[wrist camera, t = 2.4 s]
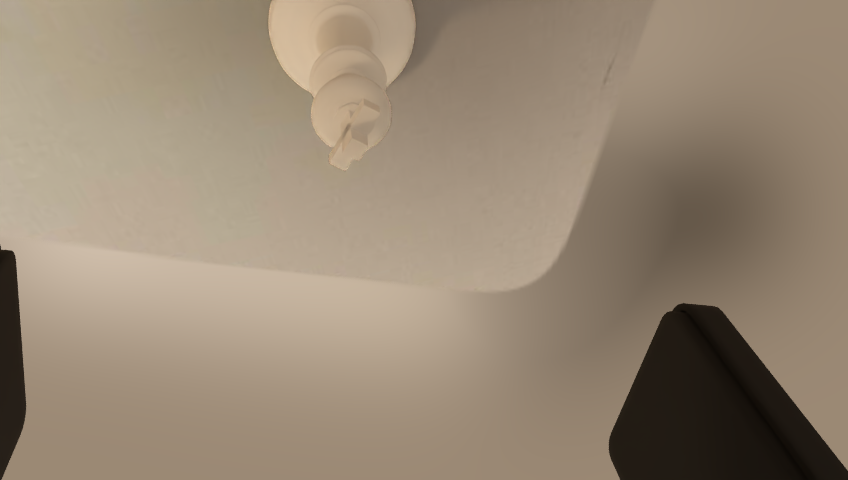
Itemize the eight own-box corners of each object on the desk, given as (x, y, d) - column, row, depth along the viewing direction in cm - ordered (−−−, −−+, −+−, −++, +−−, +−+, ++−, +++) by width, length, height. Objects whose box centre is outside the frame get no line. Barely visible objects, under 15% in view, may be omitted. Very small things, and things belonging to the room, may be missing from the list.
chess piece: (243, 53, 26) (207, 189, 17) (311, -81, 24) (308, -2, 15) (370, 119, 28) (394, 271, 19) (442, -1, 26) (504, 110, 17)
